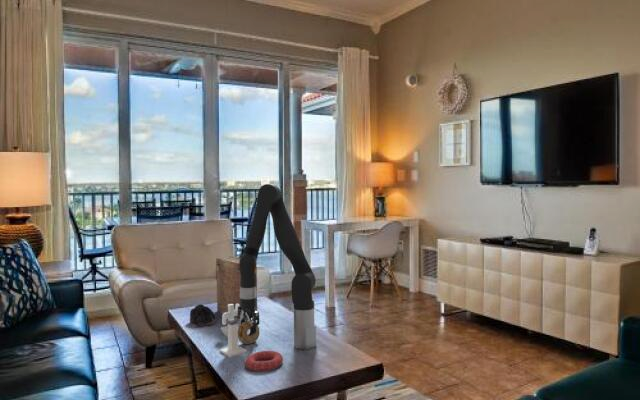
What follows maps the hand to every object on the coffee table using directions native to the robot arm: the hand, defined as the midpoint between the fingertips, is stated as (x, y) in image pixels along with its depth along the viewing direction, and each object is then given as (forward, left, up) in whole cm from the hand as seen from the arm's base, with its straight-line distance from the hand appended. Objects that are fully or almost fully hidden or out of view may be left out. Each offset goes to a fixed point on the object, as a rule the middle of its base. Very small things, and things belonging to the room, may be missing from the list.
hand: (248, 331), depth 213 cm
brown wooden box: (+42, -21, -6) cm, 48 cm away
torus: (-25, +9, -6) cm, 27 cm away
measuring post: (-5, +11, -5) cm, 13 cm away
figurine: (+14, 0, -6) cm, 15 cm away
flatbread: (-1, 0, -6) cm, 6 cm away
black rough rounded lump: (+41, +1, -6) cm, 41 cm away
